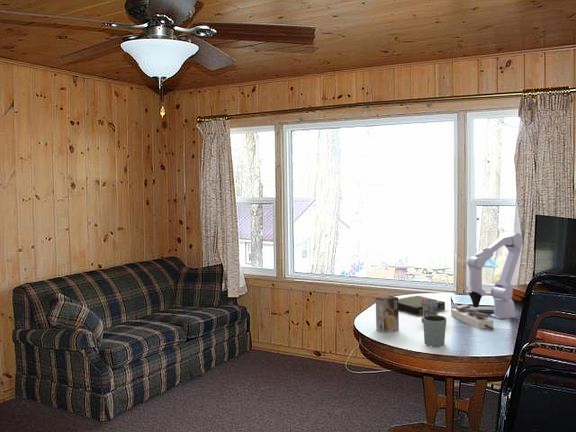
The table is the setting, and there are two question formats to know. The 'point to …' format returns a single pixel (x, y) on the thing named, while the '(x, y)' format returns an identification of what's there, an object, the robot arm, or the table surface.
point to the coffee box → (387, 314)
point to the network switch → (415, 305)
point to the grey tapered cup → (434, 330)
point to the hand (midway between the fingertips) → (475, 306)
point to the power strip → (472, 319)
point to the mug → (429, 307)
